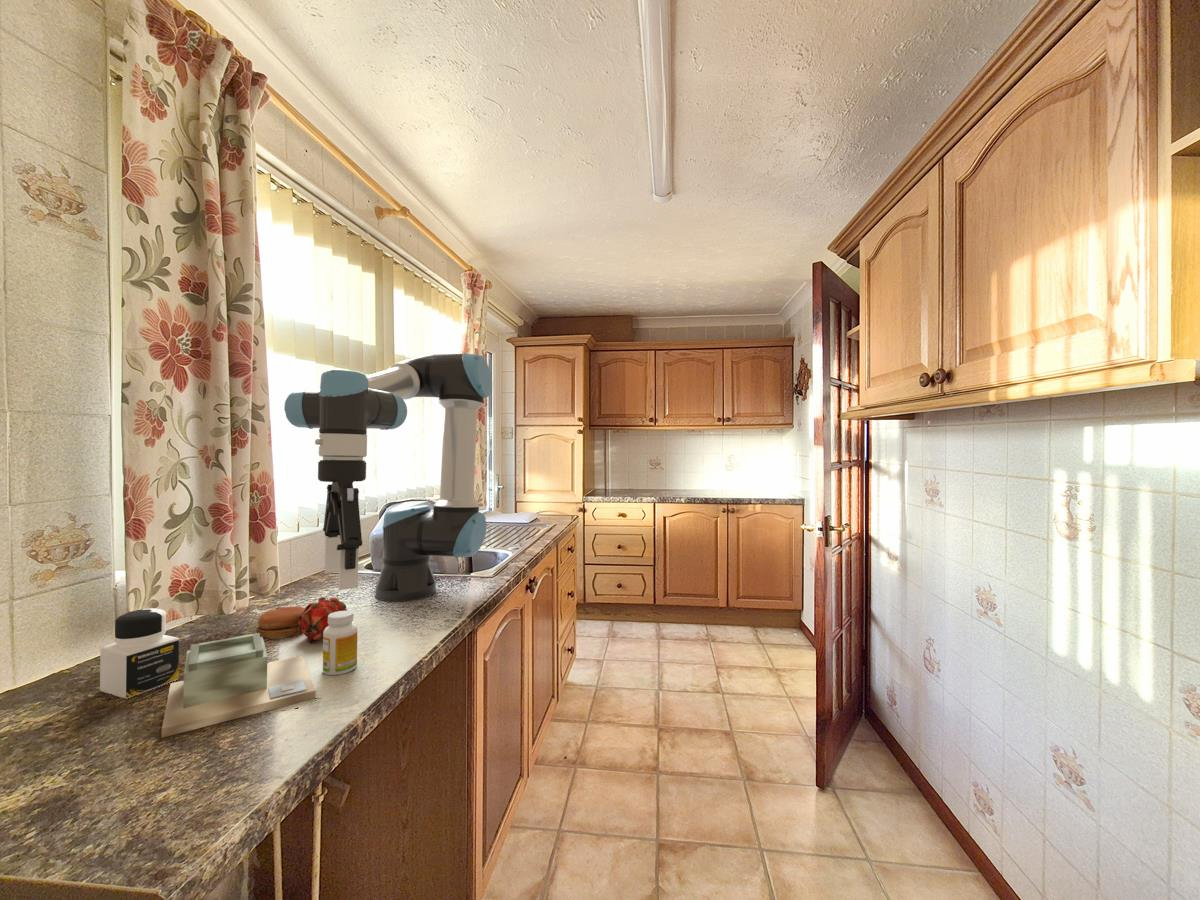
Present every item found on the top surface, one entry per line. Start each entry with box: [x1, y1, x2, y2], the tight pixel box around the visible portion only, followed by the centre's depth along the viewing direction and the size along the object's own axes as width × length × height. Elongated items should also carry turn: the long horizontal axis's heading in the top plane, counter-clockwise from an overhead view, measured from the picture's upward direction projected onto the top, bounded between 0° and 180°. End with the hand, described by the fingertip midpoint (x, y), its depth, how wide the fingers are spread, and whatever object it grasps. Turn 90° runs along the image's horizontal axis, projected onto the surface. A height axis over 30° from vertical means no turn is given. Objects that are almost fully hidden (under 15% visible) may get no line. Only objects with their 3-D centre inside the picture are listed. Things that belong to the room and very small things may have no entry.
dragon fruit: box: [299, 596, 348, 644], centre depth 101 cm, size 8×8×12 cm
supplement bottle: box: [322, 610, 358, 676], centre depth 87 cm, size 5×5×10 cm
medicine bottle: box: [99, 607, 180, 700], centre depth 80 cm, size 7×7×12 cm
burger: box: [255, 605, 306, 640], centre depth 105 cm, size 10×9×5 cm
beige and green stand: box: [161, 632, 317, 739], centre depth 78 cm, size 18×16×7 cm
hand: (340, 579), depth 87 cm, fingers open, 13 cm apart
